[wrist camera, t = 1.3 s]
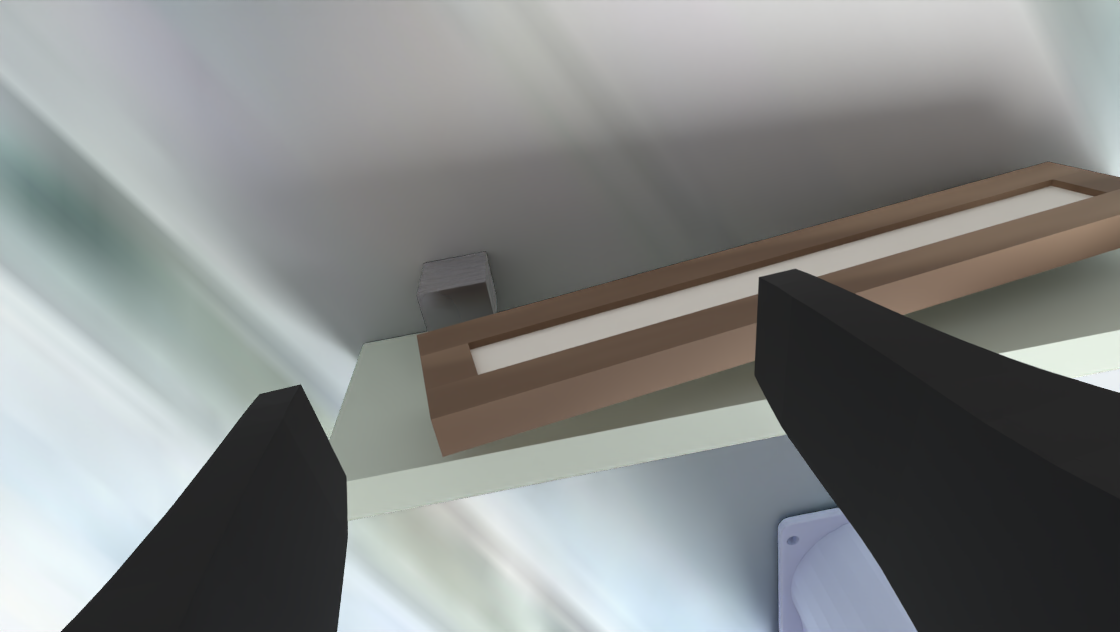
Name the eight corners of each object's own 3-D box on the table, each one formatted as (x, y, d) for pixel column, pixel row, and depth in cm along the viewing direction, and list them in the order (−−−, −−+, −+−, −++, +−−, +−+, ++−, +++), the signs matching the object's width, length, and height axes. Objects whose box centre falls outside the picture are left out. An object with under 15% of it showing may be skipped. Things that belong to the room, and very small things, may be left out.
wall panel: (1110, 230, 22) (1349, 323, 16) (373, 373, 22) (329, 524, 16) (1136, 126, 21) (1414, 185, 14) (340, 279, 20) (275, 407, 14)
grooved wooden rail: (1042, 192, 21) (1181, 229, 17) (426, 367, 17) (442, 457, 14) (1048, 161, 20) (1191, 193, 17) (416, 335, 17) (430, 419, 13)
